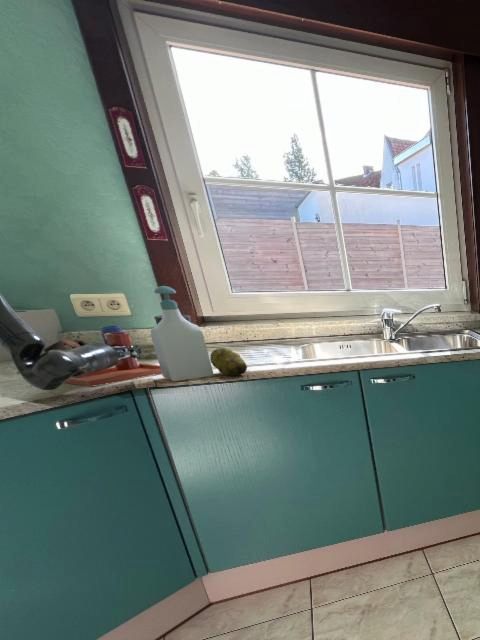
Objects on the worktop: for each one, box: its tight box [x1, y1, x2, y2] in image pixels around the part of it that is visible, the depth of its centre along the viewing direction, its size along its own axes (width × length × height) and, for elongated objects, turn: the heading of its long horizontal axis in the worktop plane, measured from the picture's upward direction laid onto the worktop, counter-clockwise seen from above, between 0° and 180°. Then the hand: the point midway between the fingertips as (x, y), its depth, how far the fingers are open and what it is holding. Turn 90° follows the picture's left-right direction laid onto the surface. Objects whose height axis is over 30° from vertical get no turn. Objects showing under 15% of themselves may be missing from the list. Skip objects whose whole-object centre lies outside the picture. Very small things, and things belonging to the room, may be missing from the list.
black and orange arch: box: [43, 337, 87, 353], centre depth 172 cm, size 12×10×8 cm
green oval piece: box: [209, 347, 248, 377], centre depth 159 cm, size 8×13×8 cm, turn 43°
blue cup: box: [99, 325, 123, 345], centre depth 175 cm, size 5×6×11 cm
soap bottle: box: [150, 285, 214, 382], centre depth 151 cm, size 11×8×27 cm
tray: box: [63, 362, 162, 387], centre depth 152 cm, size 22×14×2 cm, turn 162°
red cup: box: [104, 331, 139, 370], centre depth 152 cm, size 5×6×11 cm
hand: (126, 348), depth 154 cm, fingers closed on red cup, 5 cm apart
